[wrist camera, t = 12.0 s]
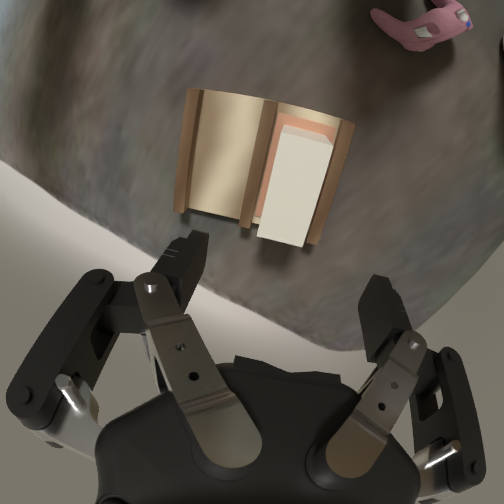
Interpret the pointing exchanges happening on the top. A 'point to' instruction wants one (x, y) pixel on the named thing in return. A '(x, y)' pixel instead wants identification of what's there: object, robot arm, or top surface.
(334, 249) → the top surface
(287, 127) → the plug block
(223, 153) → the slot rack
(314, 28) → the top surface
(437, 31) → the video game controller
